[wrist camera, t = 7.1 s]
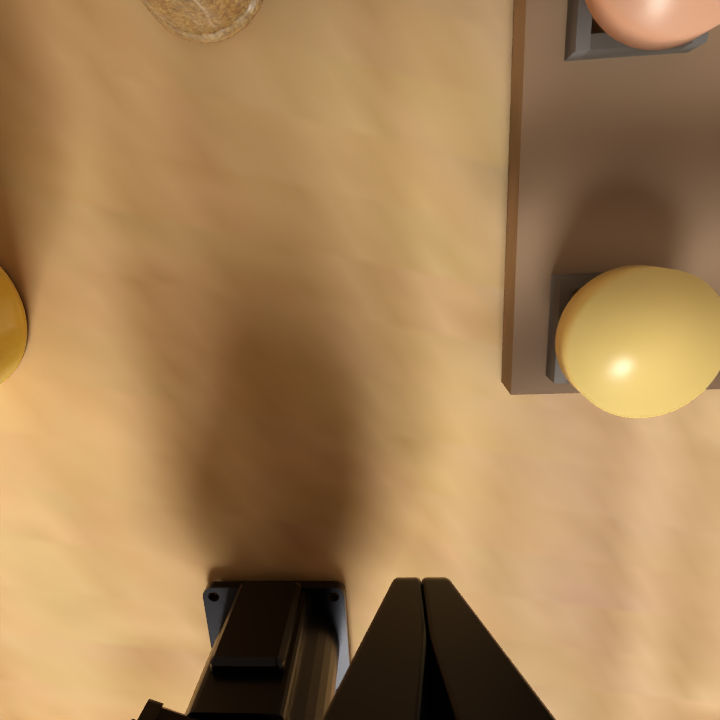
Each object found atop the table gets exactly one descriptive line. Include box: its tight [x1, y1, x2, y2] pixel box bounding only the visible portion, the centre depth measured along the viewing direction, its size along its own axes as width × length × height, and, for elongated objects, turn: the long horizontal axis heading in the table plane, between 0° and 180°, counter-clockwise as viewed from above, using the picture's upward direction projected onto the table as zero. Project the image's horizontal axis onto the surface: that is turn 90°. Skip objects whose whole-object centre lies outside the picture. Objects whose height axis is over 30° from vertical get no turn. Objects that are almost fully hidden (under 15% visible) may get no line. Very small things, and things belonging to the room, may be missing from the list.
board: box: [502, 0, 720, 395], centre depth 15 cm, size 15×12×2 cm
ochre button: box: [555, 265, 720, 418], centre depth 15 cm, size 4×4×2 cm
